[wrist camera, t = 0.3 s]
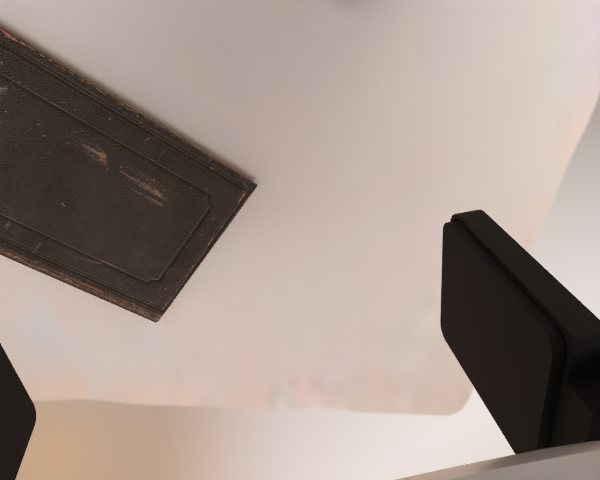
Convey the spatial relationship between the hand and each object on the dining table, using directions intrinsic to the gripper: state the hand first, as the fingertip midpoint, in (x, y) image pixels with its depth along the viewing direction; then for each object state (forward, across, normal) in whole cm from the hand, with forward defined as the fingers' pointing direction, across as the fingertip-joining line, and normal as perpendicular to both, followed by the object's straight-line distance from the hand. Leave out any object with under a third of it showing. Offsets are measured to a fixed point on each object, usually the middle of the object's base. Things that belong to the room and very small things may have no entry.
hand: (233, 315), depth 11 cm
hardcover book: (+31, +12, +8) cm, 35 cm away
